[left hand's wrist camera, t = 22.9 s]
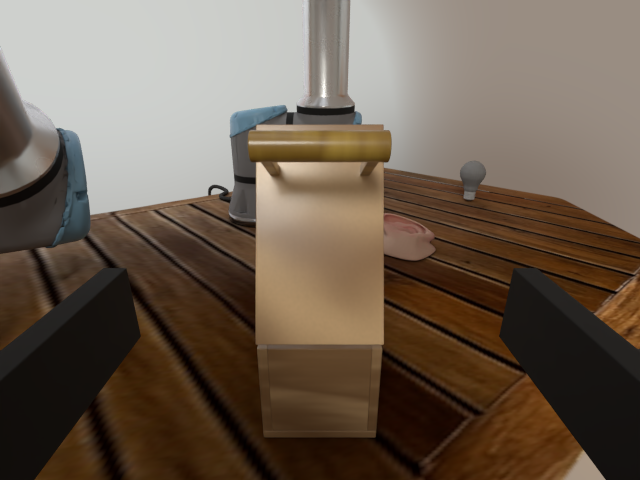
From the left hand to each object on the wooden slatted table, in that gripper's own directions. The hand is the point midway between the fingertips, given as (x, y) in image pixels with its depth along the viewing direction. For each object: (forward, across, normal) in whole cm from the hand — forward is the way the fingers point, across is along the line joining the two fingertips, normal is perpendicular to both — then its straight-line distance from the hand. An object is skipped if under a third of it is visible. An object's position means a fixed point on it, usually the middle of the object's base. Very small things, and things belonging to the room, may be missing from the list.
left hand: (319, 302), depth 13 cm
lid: (+14, 0, -3) cm, 14 cm away
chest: (+18, 0, -19) cm, 26 cm away
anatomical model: (+51, +15, -19) cm, 56 cm away
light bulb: (+82, +38, -19) cm, 92 cm away
